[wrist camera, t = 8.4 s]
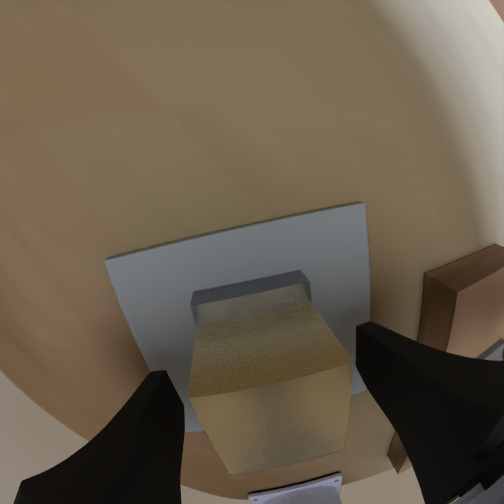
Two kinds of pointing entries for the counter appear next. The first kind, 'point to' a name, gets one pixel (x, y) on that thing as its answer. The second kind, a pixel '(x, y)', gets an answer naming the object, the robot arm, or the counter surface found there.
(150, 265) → the slate mat
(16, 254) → the counter surface
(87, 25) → the counter surface
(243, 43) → the counter surface
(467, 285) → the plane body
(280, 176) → the counter surface
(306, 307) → the tan small block
